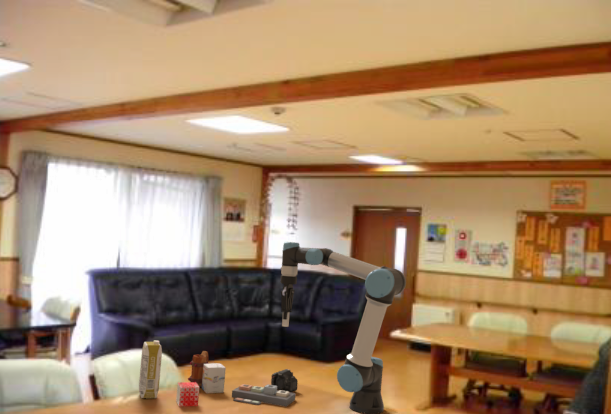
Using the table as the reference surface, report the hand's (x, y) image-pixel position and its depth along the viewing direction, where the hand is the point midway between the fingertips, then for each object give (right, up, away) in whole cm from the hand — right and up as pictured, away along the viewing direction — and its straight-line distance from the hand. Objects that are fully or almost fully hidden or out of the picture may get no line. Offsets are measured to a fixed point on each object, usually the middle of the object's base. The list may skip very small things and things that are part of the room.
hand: (285, 326), depth 279 cm
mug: (-41, -30, +8) cm, 51 cm away
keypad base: (-10, -31, -7) cm, 33 cm away
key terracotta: (-18, -30, -4) cm, 35 cm away
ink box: (-34, -30, 0) cm, 45 cm away
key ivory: (-1, -31, -10) cm, 33 cm away
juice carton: (-59, -27, -17) cm, 67 cm away
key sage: (-12, -30, -6) cm, 33 cm away
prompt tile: (-16, -30, -14) cm, 37 cm away
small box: (-41, -28, -23) cm, 55 cm away
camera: (-1, -33, +10) cm, 35 cm away
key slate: (-6, -29, -8) cm, 31 cm away
